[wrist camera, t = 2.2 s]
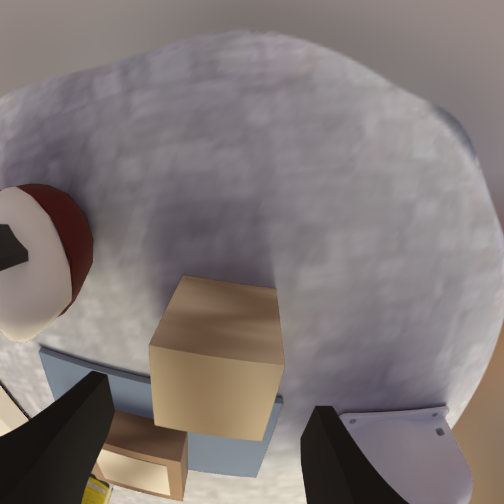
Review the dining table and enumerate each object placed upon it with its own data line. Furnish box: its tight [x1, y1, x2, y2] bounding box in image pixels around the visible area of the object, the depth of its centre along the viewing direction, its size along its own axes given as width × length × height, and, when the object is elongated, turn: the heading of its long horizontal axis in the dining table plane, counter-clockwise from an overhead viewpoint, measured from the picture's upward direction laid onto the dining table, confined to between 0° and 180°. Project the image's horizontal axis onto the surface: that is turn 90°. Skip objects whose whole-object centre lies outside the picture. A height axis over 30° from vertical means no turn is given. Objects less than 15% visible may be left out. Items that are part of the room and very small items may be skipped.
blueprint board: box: [39, 347, 283, 478], centre depth 18 cm, size 16×10×1 cm, turn 81°
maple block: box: [149, 275, 285, 441], centre depth 13 cm, size 4×4×6 cm
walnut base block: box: [93, 410, 188, 501], centre depth 17 cm, size 7×7×3 cm
